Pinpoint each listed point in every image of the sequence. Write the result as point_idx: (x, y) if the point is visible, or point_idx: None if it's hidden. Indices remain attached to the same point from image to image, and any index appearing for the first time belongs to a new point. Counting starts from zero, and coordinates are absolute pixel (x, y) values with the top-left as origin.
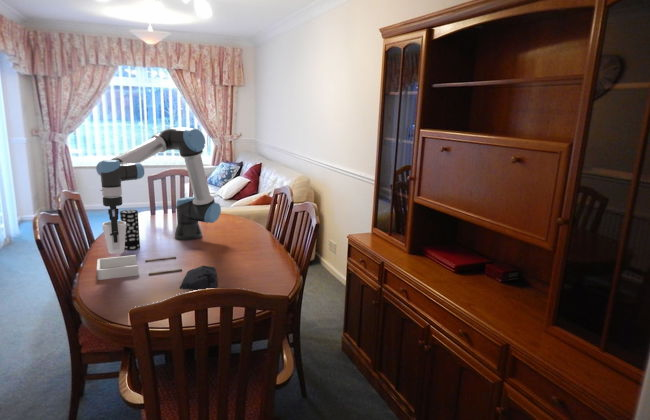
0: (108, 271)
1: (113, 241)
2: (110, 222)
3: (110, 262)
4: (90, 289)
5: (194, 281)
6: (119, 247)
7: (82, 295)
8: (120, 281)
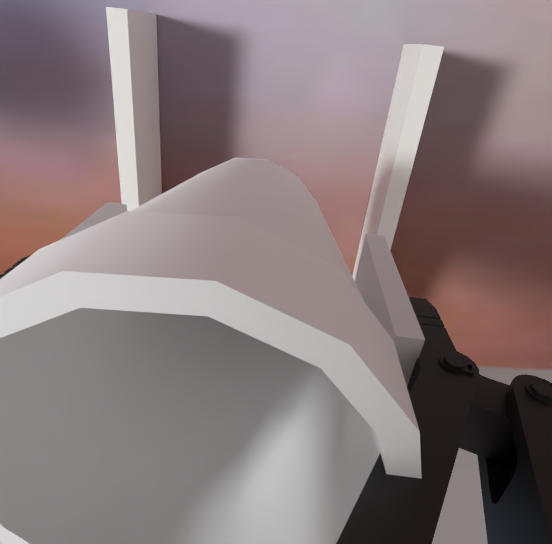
0: None
1: None
2: (4, 493)
3: None
4: (481, 329)
5: None
6: (386, 245)
7: (536, 363)
8: (467, 184)
